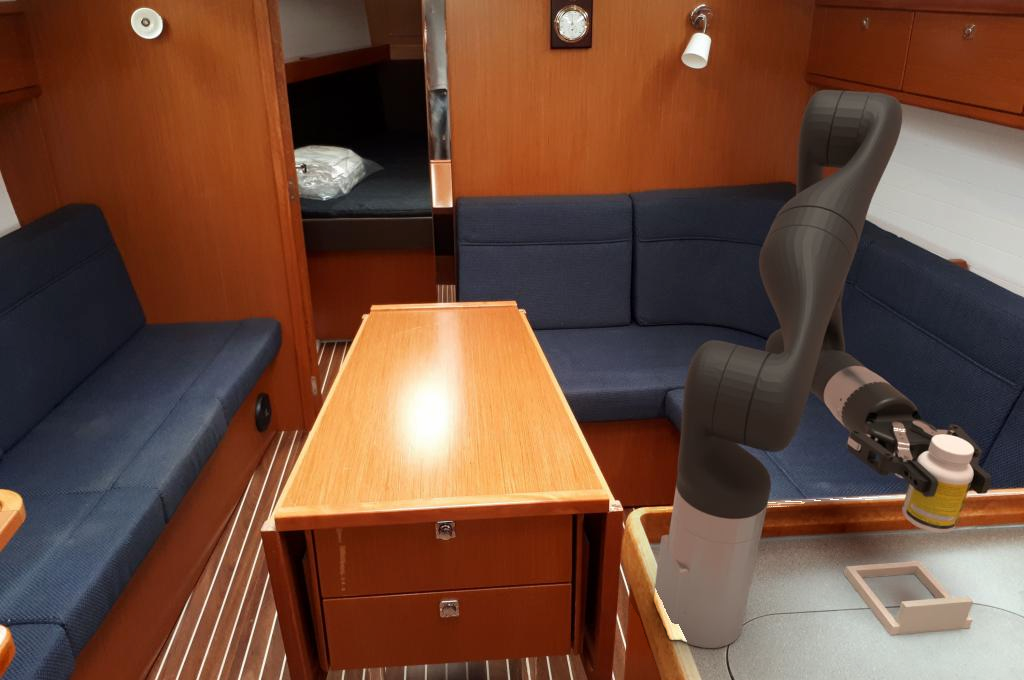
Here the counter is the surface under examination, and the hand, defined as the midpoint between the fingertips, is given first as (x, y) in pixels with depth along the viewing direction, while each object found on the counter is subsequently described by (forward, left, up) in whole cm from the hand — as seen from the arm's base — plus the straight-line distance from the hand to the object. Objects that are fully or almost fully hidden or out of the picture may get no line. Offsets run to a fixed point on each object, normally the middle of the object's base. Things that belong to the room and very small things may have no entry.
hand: (959, 488), depth 77 cm
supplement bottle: (0, +3, -6) cm, 7 cm away
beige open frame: (0, +2, -18) cm, 18 cm away
